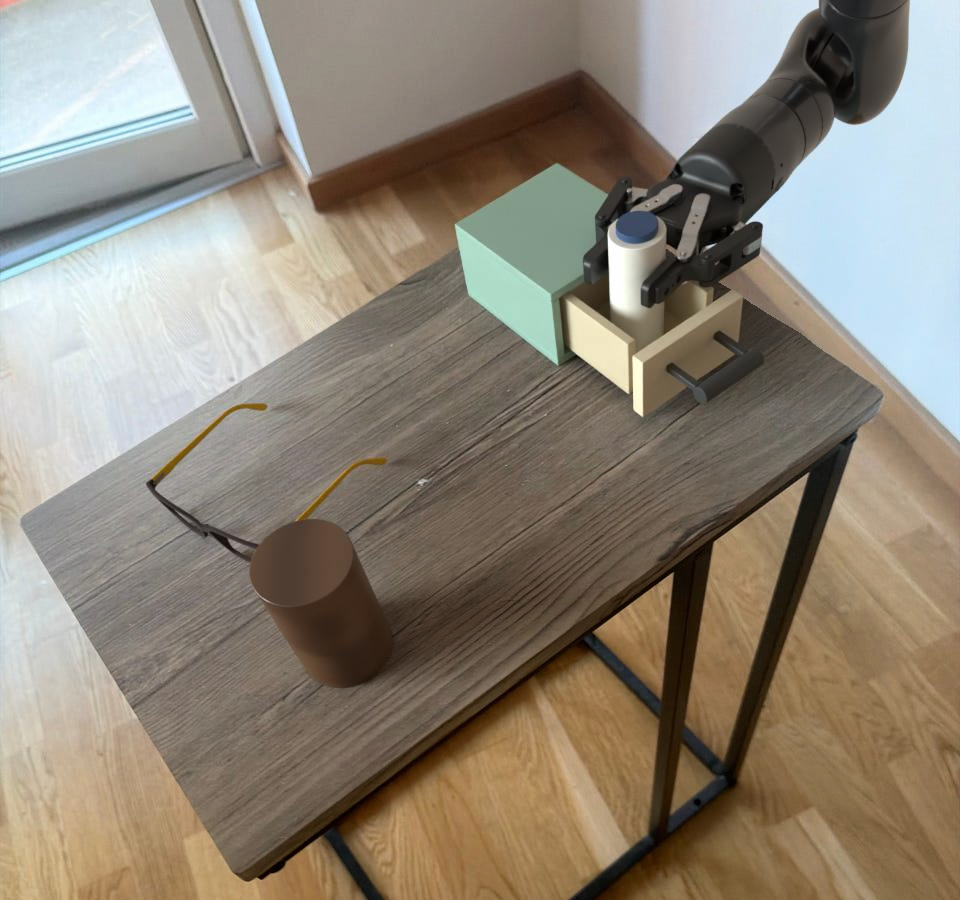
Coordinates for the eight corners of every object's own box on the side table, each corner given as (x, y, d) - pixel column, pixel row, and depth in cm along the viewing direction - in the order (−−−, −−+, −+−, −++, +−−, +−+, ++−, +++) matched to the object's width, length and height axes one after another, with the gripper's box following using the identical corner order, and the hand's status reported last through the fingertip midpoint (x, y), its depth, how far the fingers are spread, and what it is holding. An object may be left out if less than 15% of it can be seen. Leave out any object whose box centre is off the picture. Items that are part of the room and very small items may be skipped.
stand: (390, 600, 71) (352, 510, 62) (394, 680, 68) (354, 596, 58) (302, 615, 72) (250, 528, 63) (301, 695, 68) (246, 614, 59)
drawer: (779, 381, 76) (789, 324, 71) (683, 449, 73) (686, 395, 69) (637, 284, 84) (636, 227, 79) (547, 343, 82) (541, 288, 77)
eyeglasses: (157, 519, 79) (135, 489, 76) (267, 407, 84) (251, 374, 81) (278, 587, 74) (261, 557, 70) (388, 462, 79) (377, 429, 75)
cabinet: (658, 300, 84) (659, 225, 77) (558, 366, 82) (550, 295, 75) (563, 236, 91) (557, 162, 84) (468, 295, 88) (454, 223, 82)
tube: (673, 326, 79) (677, 214, 70) (646, 359, 77) (647, 248, 69) (628, 311, 81) (626, 199, 72) (601, 343, 79) (596, 233, 70)
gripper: (666, 100, 78) (538, 215, 72) (823, 146, 71) (695, 275, 66) (665, 184, 84) (547, 294, 79) (808, 232, 78) (691, 356, 72)
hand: (616, 285), depth 72 cm, fingers open, 5 cm apart
